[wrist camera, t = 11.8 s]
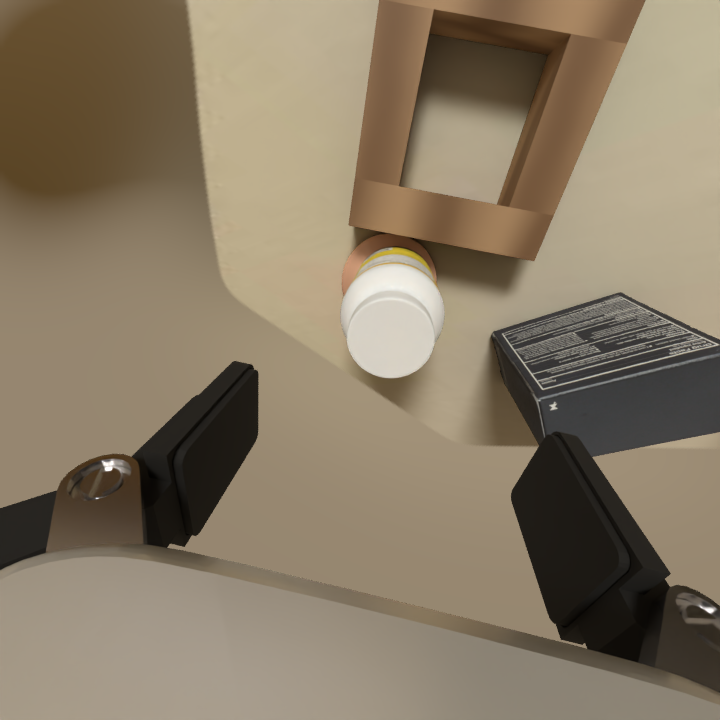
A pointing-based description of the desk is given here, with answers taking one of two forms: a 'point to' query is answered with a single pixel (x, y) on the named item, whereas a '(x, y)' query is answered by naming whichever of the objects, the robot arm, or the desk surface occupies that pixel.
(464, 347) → the desk surface
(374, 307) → the pill bottle
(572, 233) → the desk surface
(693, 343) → the small box
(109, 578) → the robot arm
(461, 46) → the desk surface
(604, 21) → the pocket holder
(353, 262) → the coaster
